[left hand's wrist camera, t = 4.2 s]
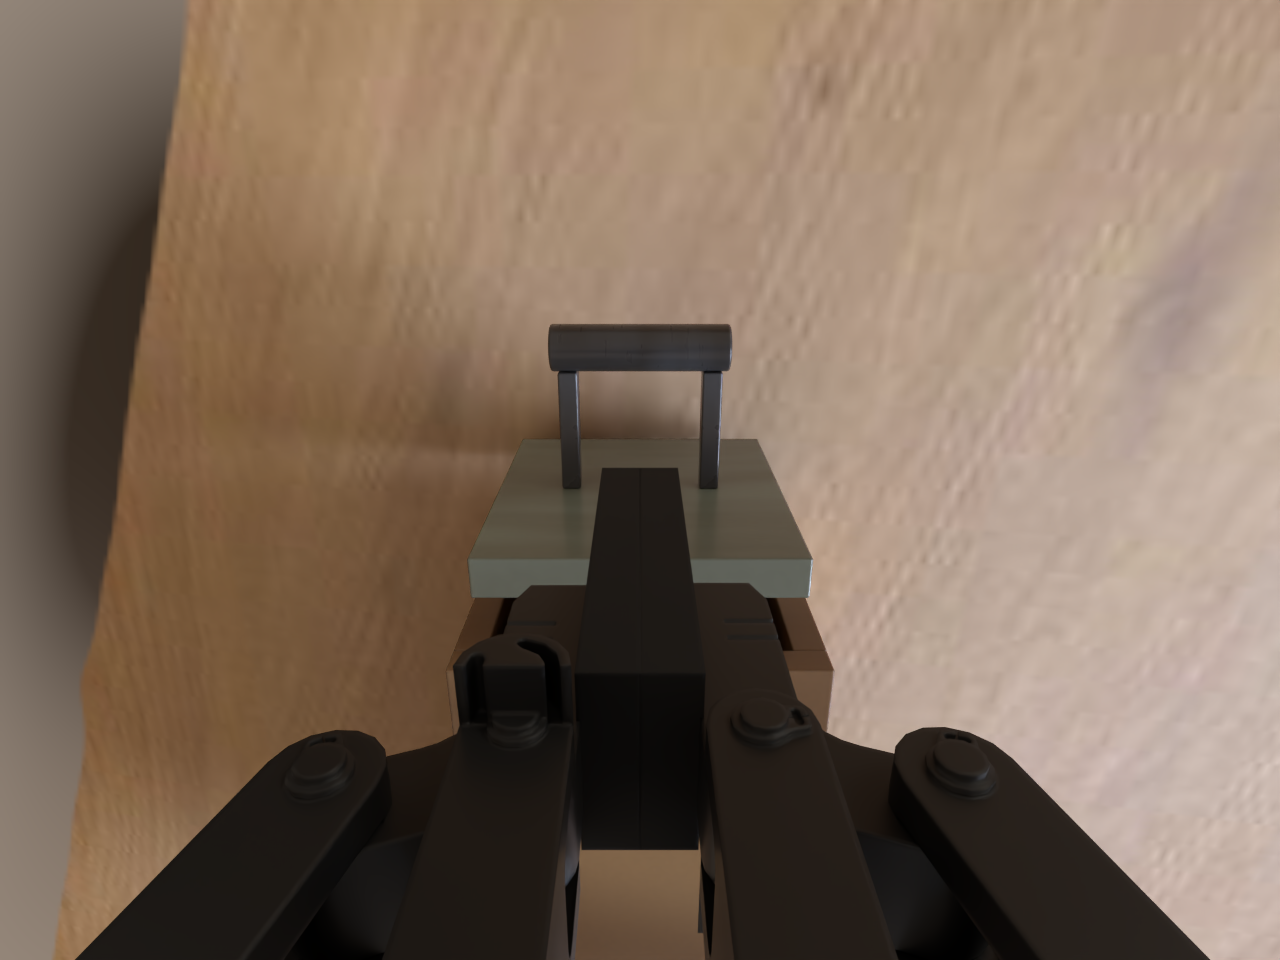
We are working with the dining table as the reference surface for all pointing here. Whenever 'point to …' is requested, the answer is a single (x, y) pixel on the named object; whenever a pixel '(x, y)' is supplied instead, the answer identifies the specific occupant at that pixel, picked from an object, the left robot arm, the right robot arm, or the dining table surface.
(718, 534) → the drawer
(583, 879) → the cabinet
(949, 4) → the dining table surface
